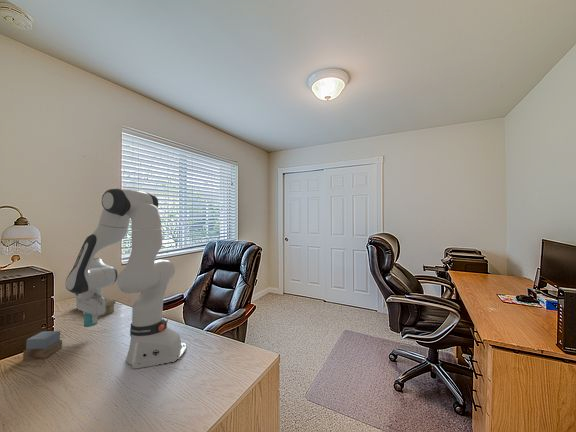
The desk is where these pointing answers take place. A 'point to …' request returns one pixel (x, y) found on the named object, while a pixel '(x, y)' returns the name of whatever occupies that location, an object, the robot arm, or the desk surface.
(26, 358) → the walnut base block
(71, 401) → the desk surface
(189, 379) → the desk surface
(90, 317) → the teal cylinder
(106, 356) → the desk surface
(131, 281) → the robot arm
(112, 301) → the block tower
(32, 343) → the slate-grey upper block
